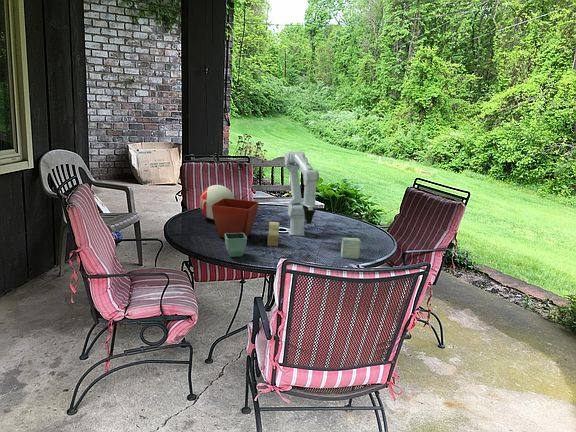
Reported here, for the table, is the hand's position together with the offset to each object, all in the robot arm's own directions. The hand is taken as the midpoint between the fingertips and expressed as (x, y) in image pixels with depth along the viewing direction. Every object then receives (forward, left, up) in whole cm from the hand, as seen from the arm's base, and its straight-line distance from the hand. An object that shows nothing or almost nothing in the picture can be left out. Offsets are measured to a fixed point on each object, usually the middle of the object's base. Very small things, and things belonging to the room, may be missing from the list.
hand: (308, 221), depth 232 cm
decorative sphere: (-36, -48, -11) cm, 61 cm away
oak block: (+6, -17, -6) cm, 19 cm away
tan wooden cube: (+7, -17, -11) cm, 21 cm away
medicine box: (+22, +18, -11) cm, 30 cm away
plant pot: (-5, -36, -11) cm, 38 cm away
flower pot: (+26, -34, -11) cm, 44 cm away
